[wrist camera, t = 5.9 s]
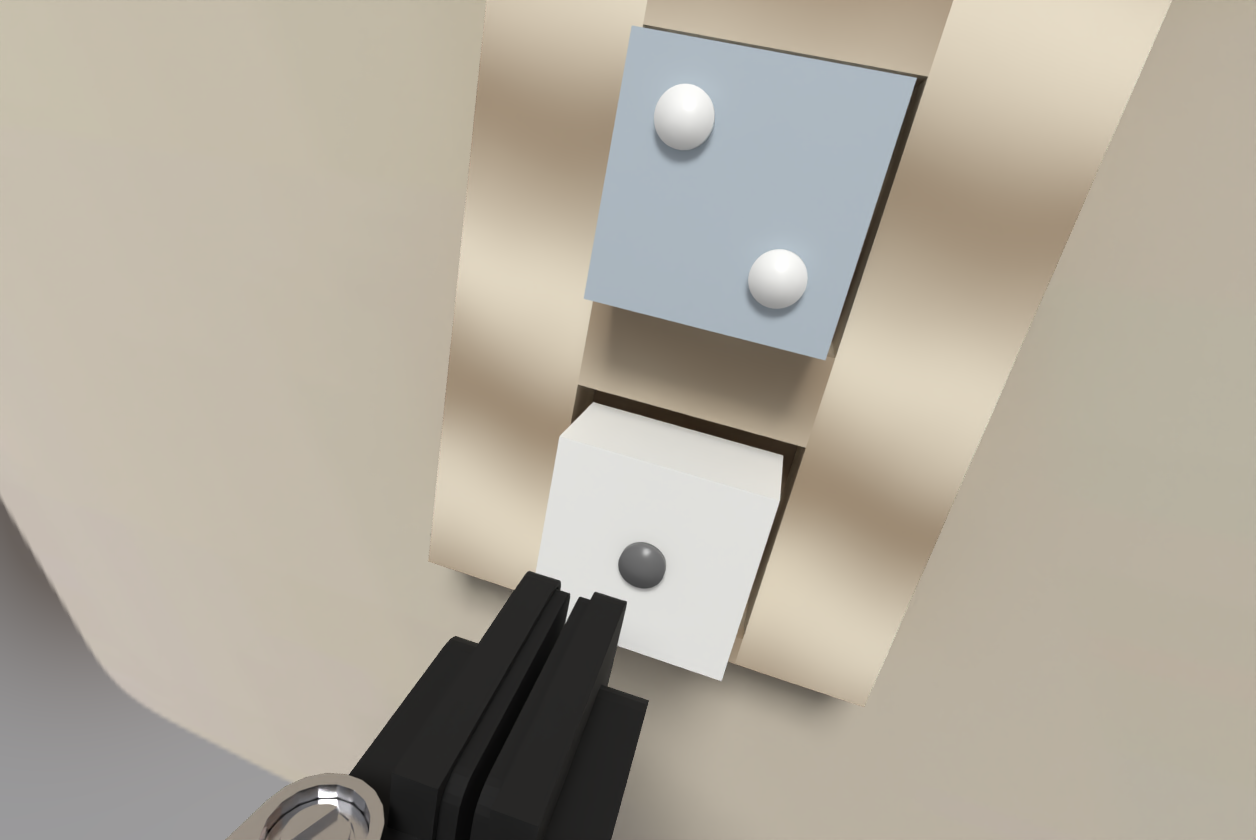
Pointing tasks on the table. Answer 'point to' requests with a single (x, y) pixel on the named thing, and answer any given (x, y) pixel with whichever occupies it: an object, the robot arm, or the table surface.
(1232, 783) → the table surface
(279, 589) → the table surface
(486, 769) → the robot arm
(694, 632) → the key
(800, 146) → the key
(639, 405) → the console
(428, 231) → the table surface
